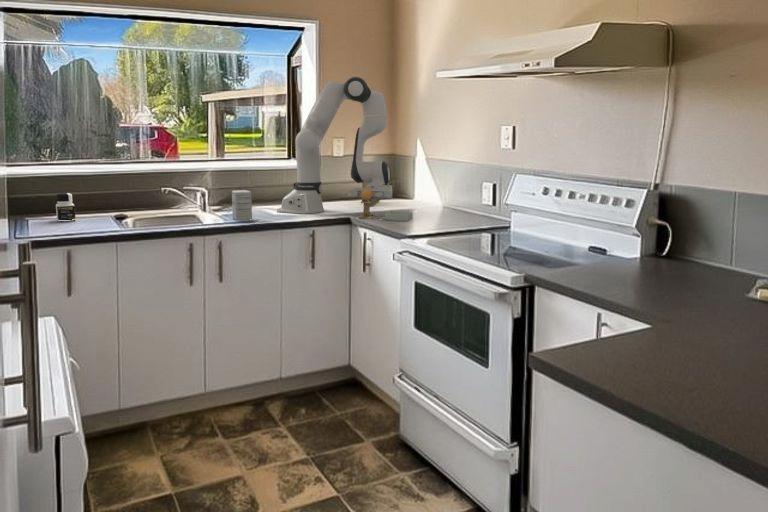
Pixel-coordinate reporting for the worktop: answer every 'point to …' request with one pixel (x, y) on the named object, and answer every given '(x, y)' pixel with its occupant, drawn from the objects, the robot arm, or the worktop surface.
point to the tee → (366, 210)
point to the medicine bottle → (65, 207)
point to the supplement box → (241, 205)
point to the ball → (366, 194)
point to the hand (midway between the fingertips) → (366, 194)
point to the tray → (398, 216)
